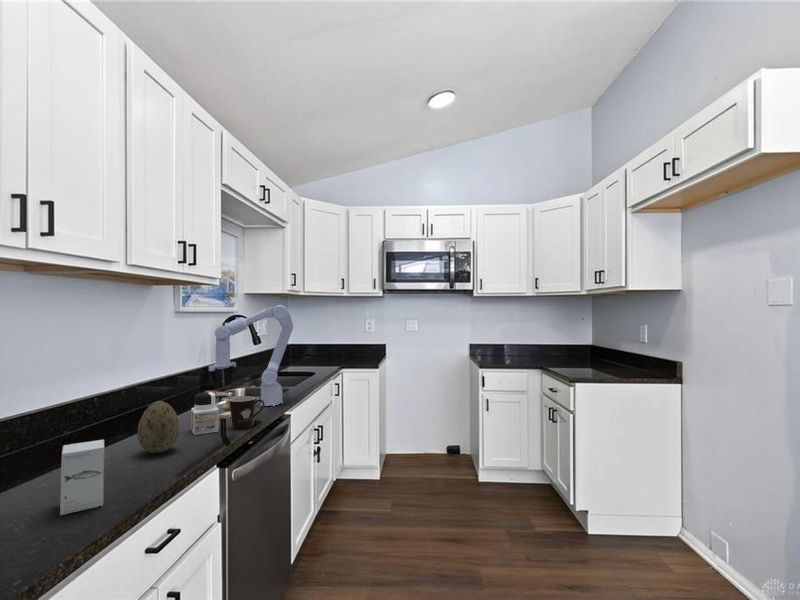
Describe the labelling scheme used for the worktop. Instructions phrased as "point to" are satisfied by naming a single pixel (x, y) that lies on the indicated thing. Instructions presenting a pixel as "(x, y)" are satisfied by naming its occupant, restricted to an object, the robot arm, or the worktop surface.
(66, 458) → the supplement box
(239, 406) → the coffee mug
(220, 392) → the valve lever
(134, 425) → the worktop surface
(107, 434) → the worktop surface
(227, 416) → the mounting board
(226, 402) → the valve pipe
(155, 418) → the decorative egg
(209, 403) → the container
